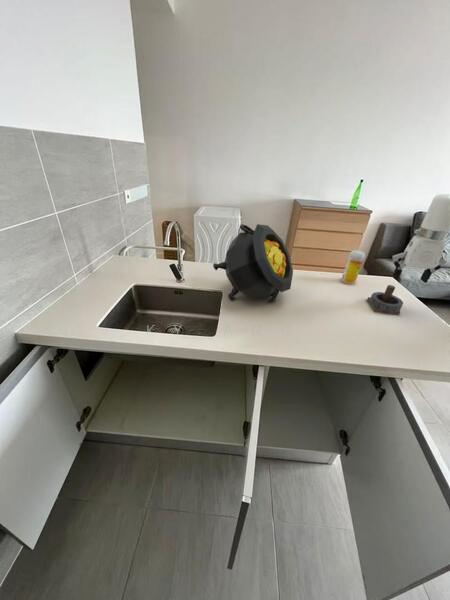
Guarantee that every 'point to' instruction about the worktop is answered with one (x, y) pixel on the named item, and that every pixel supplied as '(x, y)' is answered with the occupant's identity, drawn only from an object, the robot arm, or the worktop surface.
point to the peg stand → (385, 300)
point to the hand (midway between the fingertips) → (409, 279)
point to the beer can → (353, 266)
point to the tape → (385, 306)
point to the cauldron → (257, 264)
